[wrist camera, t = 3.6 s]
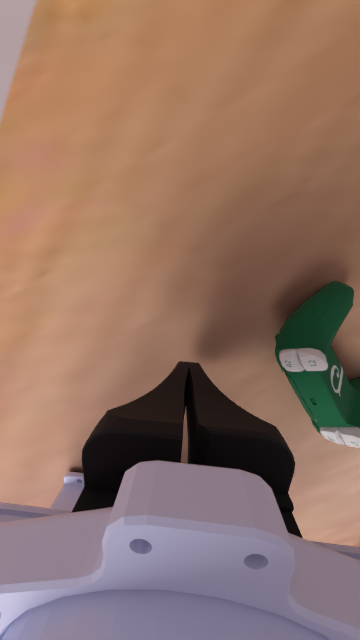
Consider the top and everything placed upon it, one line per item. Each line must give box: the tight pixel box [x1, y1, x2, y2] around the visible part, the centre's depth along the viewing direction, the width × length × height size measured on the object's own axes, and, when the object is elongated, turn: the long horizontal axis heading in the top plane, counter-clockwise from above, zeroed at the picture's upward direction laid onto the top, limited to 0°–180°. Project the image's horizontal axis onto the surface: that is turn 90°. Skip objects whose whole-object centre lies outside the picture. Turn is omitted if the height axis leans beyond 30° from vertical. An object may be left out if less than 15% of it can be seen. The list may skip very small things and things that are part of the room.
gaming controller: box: [275, 281, 360, 448], centre depth 11 cm, size 9×4×6 cm
